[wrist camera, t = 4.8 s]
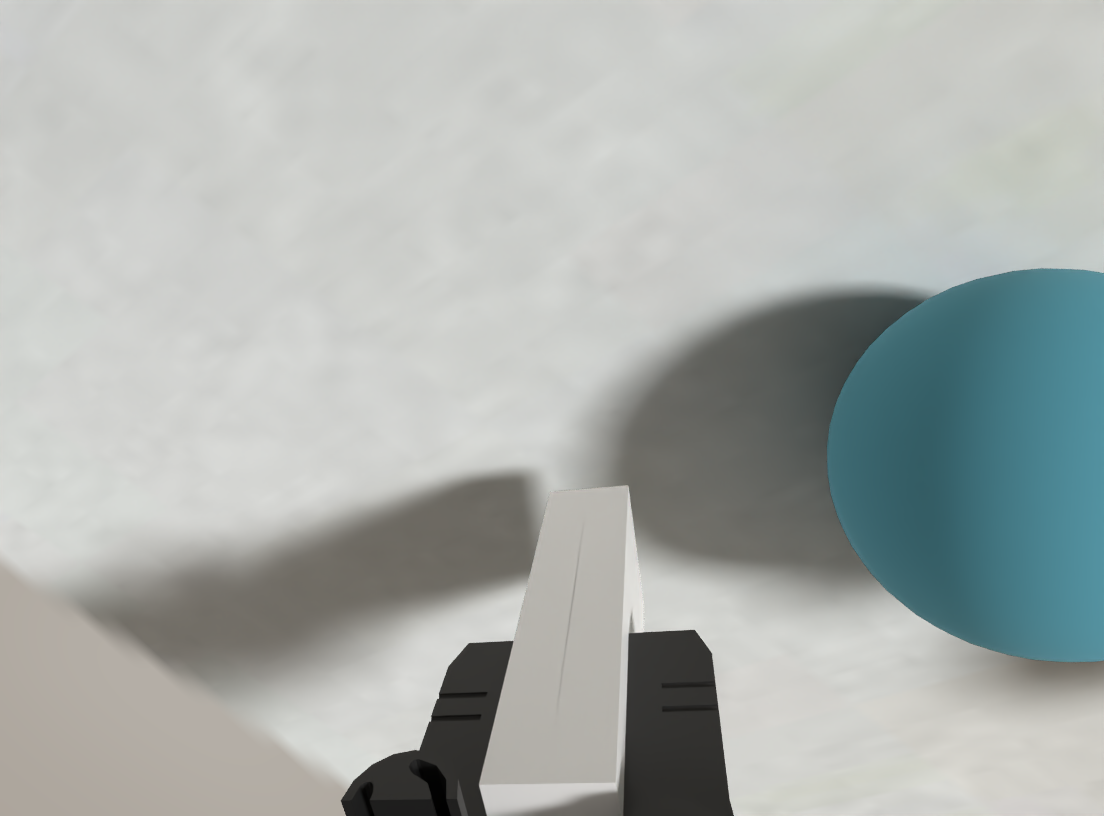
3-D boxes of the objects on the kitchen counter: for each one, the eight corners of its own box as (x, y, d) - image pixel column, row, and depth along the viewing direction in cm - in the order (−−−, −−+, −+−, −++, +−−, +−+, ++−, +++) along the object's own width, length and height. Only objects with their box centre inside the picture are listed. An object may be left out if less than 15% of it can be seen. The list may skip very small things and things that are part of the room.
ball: (1584, 506, 8) (1197, 378, 14) (1162, 181, 8) (944, 187, 13) (1145, 835, 10) (963, 600, 16) (785, 582, 10) (735, 437, 15)
